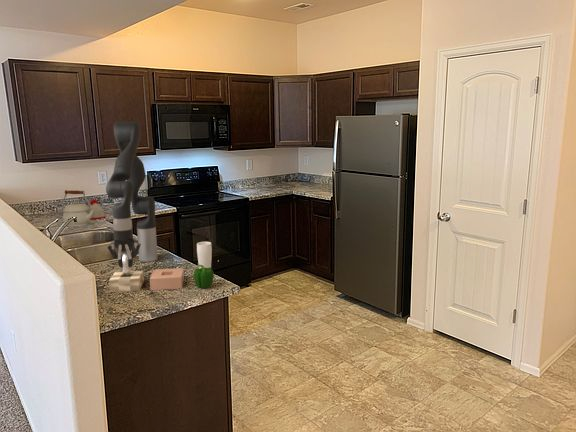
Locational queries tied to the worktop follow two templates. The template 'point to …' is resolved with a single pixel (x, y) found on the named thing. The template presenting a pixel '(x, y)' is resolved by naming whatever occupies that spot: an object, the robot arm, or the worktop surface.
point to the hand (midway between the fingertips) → (126, 266)
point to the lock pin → (125, 265)
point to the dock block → (167, 279)
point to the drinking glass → (204, 254)
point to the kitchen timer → (96, 210)
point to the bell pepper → (203, 277)
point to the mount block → (126, 281)
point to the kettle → (77, 211)
